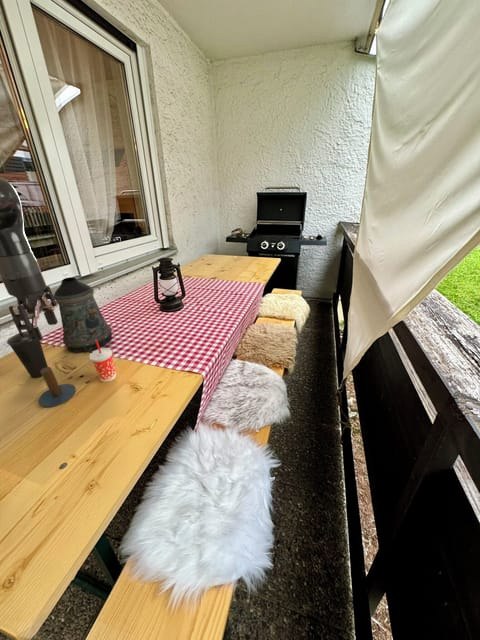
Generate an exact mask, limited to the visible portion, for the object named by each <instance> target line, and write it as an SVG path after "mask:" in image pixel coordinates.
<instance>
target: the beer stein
mask: <svg viewBox="0 0 480 640" xmlns="http://www.w3.org/2000/svg"><path fill="white" fill-rule="evenodd" d="M94 294H95V289H94V287H92V286H91V285H88V284H86V283H85V282H82V281H79V280H78V279H77V278H76V277H72V276H71V277H65V278H63V279H62V280H61V282H60V285H59V287H58V288H57V289H56V290H55V292H54V294H53V296H54V299H55V301H56V303H57V304H58V309H59V315H60V318H61V326H62V342H63V345H65V347H66V349H67V351H70V352H71V353H74V354H82V353H83V354H85V353H89V352H94V351H96V349H97V350H98V347H97V344H96V341H95V339H97V341H98V344H99V347H100V349H102V348H104V347H106V346H107V345H108V344H109V343H110V342H111V341H112V338H113V337H112V336H113V334H112V333H113V332H112V331H113V329H112V327H111V326H110V325H109V324H108V323H107V321H106V319H105V318H104V316H103V314H102V311H101V310H100V307H99V306H98V303H97V301H96V299H95V297H94ZM109 341H110V342H109ZM108 342H109V343H108ZM107 343H108V344H107ZM106 344H107V345H106ZM105 345H106V346H105Z"/></svg>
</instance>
